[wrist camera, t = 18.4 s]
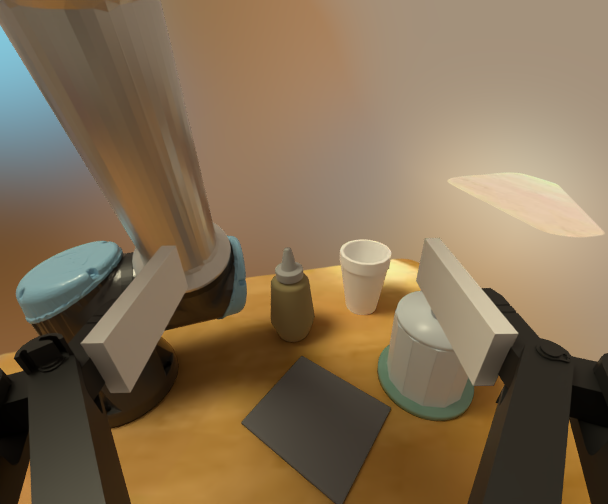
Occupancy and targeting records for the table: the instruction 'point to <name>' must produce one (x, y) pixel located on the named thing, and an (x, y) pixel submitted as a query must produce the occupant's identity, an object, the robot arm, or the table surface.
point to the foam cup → (363, 274)
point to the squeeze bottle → (291, 300)
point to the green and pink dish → (417, 409)
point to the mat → (319, 426)
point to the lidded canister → (423, 356)
